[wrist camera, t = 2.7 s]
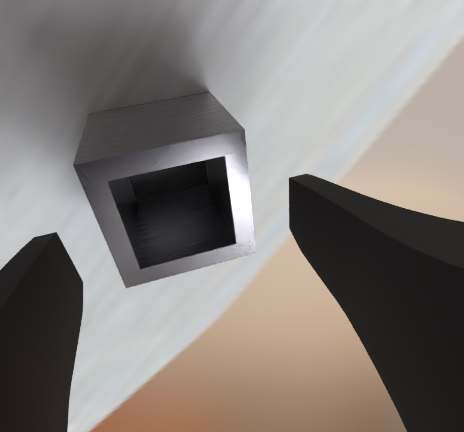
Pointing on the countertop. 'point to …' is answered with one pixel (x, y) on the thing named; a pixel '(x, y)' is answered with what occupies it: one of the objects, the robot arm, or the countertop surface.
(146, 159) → the square metal tube
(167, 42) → the countertop surface
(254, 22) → the countertop surface
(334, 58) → the countertop surface
